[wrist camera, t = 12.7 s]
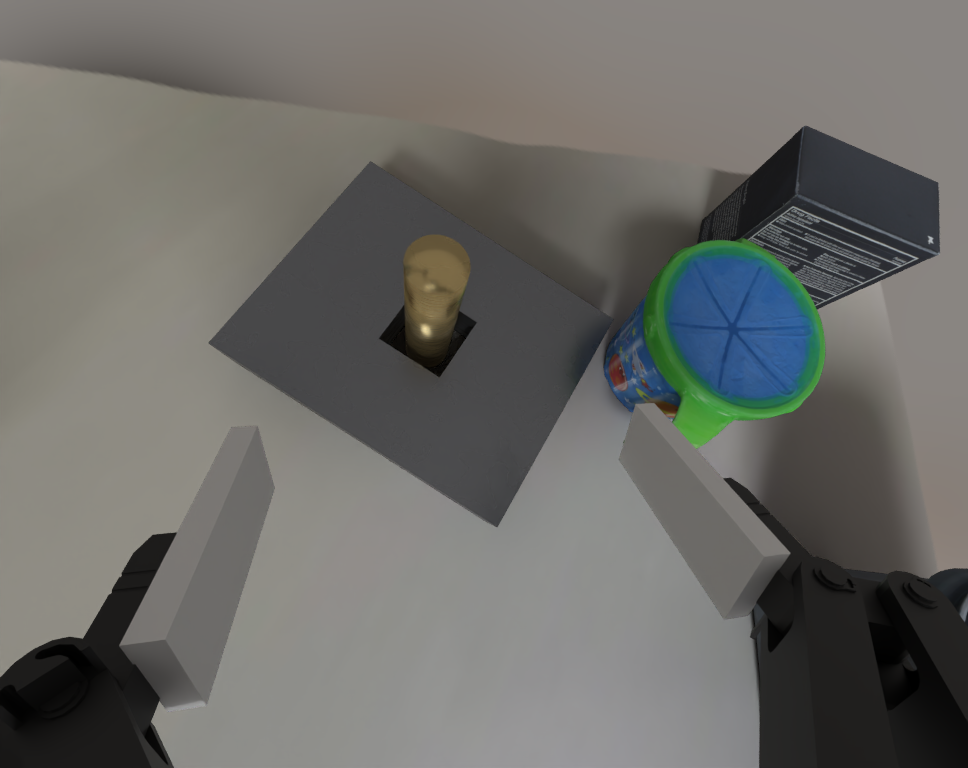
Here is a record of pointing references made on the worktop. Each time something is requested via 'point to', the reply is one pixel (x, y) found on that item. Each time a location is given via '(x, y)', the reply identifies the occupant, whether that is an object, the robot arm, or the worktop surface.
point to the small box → (832, 215)
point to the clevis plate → (396, 378)
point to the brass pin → (433, 296)
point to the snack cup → (719, 340)
